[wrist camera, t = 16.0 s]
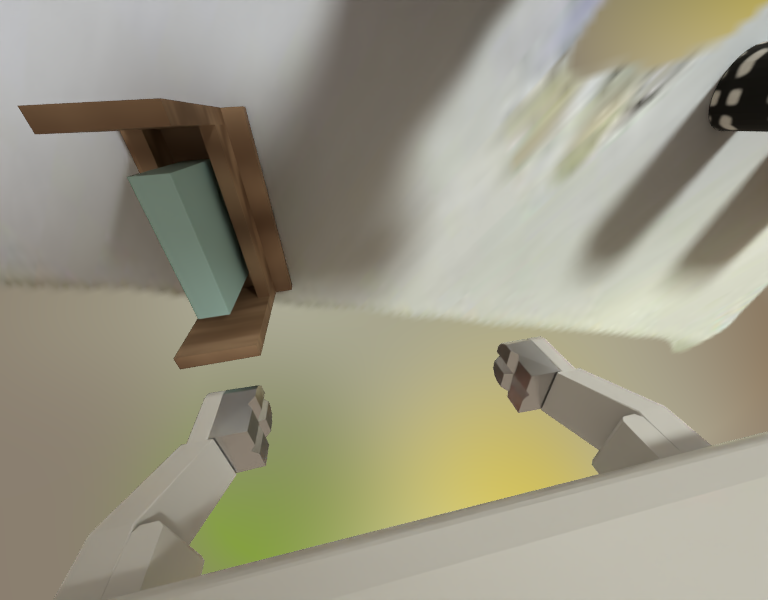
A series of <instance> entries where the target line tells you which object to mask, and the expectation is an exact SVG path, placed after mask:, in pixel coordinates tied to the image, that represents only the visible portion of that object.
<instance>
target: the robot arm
mask: <svg viewBox="0 0 768 600" xmlns="http://www.w3.org/2000/svg"><path fill="white" fill-rule="evenodd" d="M497 352H498V354H499V355H500V356H499V357H498V358H497V359H496V360H495V362H494V367H493V369H494V375H495V377H496V380H497V381H498V383H499V385H500V386H501V387H503V388H504V389H506V390H508V398H509V400H510V401H511V403H512V404H513V405H514V407H515V409H516V410H517V411H518V413H520V412H525V411H531V410H536V409H541V410H542V411H544V412H545V413H546V414H548V415H549V416H551V417H552V418H554V419H555V420H556V421H558V422H559V423H561V424H563V425H564V426H565V427H567V428H568V429H569V430H571V431H572V432H574V433H575V434H577V435H578V436H580V437H581V438H582V439H584V440H585V441H587V442H588V443H589V444H591V445H592V446H594V447H595V448H597V449H598V450H599V451H598V453H597V454H596V456H595V457H594V459H593V461H592V465H593V467H594V468H595V469H596V471H597V472H598V473H599V474H598V475H595V476H590V477H586V478H583V479H579V480H575V481H571V482H567V483H563V484H559V485H555V486H551V487H547V488H543V489H539V490H536V491H531V492H527V493H523V494H519V495H515V496H511V497H507V498H504V499H500V500H496V501H492V502H488V503H484V504H480V505H476V506H472V507H468V508H464V509H460V510H456V511H452V512H448V513H444V514H440V515H436V516H433V517H429V518H425V519H421V520H417V521H413V522H409V523H405V524H401V525H397V526H393V527H389V528H385V529H381V530H377V531H373V532H369V533H365V534H362V535H358V536H354V537H350V538H346V539H342V540H338V541H334V542H330V543H326V544H322V545H318V546H314V547H310V548H306V549H302V550H299V551H294V552H291V553H287V554H283V555H279V556H275V557H271V558H267V559H263V560H259V561H255V562H251V563H248V564H243V565H239V566H235V567H231V568H228V569H224V570H220V571H216V572H212V573H208V574H204V575H201V573H202V569H203V565H204V559H203V558H202V556H201V555H200V554H199V553H197V552H196V551H195V550H194V549H193V548H191V547H190V546H189V544H190V543H191V541H192V540H193V538H194V537H195V535H196V534H197V532H198V531H199V529H200V528H201V527H202V525H203V524H204V522H205V521H206V519H207V518H208V516H209V515H210V513H211V512H212V510H213V509H214V507H215V506H216V504H217V503H218V501H219V500H220V498H221V497H222V495H223V494H224V492H225V491H226V489H227V488H228V486H229V485H230V483H231V482H232V480H233V479H234V477H235V476H236V473H238V472H242V471H246V470H250V469H254V468H258V467H263V466H266V460H267V454H268V447H269V444H268V441H267V439H266V437H267V435H268V434H269V433H270V432H271V426H272V412H271V407H270V404H269V402H268V401H267V400H265V399H264V394H265V392H264V390H263V388H262V386H252V387H245V388H238V389H232V390H226V391H220V392H213V393H209V394H208V395H207V396H206V397H205V398H204V401H203V403H202V406H201V408H200V411H199V413H198V416H197V419H196V421H195V423H194V426H193V428H192V431H191V434H190V436H189V438H188V441H187V444H183V445H180V446H179V447H178V448H177V449H176V450H175V451H174V452H173V453H172V454H171V455H170V456H169V457H168V458H167V459H166V460H165V461H164V462H163V463H162V464H161V465H160V466H159V467H158V468H157V469H156V470H155V471H154V472H153V473H152V474H151V475H150V476H148V477H147V478H146V479H145V480H144V481H143V482H142V483H141V484H140V485H139V486H138V487H137V488H136V489H135V490H134V491H133V492H132V493H131V494H130V495H129V496H128V497H127V498H126V499H125V500H124V501H123V502H122V503H121V504H120V505H119V506H118V507H117V508H116V509H115V510H114V511H113V512H111V513H110V514H109V515H108V516H107V517H106V518H105V519H104V520H103V521H102V522H101V523H100V524H99V525H98V526H97V527H96V528H95V529H94V530H93V531H92V532H91V533H90V534H89V536H88V537H87V539H86V541H85V543H84V545H83V546H82V548H81V550H80V552H79V554H78V556H77V558H76V559H75V561H74V563H73V565H72V567H71V569H70V570H69V572H68V574H67V576H66V578H65V580H64V581H63V583H62V585H61V587H60V589H59V590H58V592H57V594H56V596H55V598H54V600H768V432H764V433H760V434H756V435H752V436H748V437H744V438H740V439H736V440H733V441H729V442H725V443H721V444H717V445H713V446H712V445H710V444H709V443H708V442H707V441H706V440H704V439H703V438H702V437H701V436H700V435H699V434H697V433H696V432H695V431H694V430H693V429H691V428H690V427H689V426H688V425H687V424H685V423H684V422H683V421H682V420H681V419H680V418H678V417H677V416H676V415H675V414H674V413H673V412H671V411H670V410H669V409H668V408H667V407H666V406H664V405H661V404H659V403H657V402H654V401H652V400H650V399H648V398H645V397H643V396H641V395H639V394H637V393H634V392H632V391H630V390H628V389H625V388H623V387H621V386H619V385H616V384H614V383H612V382H610V381H607V380H605V379H603V378H601V377H599V376H596V375H594V374H592V373H589V372H587V371H585V370H583V369H580V368H578V369H575V368H574V367H573V366H572V365H571V364H570V363H569V362H568V361H567V360H566V359H565V358H564V357H563V356H562V355H561V354H560V353H559V352H558V351H557V350H556V349H555V348H554V347H553V346H552V345H551V344H550V343H549V342H548V341H547V340H546V339H545V338H543V337H534V338H529V339H523V340H517V341H512V342H507V343H501V344H500V345H499V346H498V350H497Z"/></svg>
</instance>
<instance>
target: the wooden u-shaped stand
mask: <svg viewBox="0 0 768 600" xmlns="http://www.w3.org/2000/svg"><path fill="white" fill-rule="evenodd" d="M18 107H19V109H20V111H21V112H22V114H23V115H24V117H25V119H26V120H27V122H28V124H29V125H30V127H31V128H32V130H33V132H34V133H35V134H54V133H78V132H102V131H120V133H121V135H122V137H123V139H124V141H125V143H126V145H127V147H128V149H129V151H130V153H131V156H132V158H133V160H134V162H135V164H136V166H137V168H138V170H139V172H140V173H143V172H146V171H150V170H153V169H157V168H160V167H164V166H167V165H171V164H174V163H178V162H181V161H189V160H201V159H210V161H211V164H212V167H213V169H214V172H215V175H216V178H217V181H218V184H219V187H220V190H221V193H222V195H223V198H224V201H225V204H226V207H227V210H228V213H229V216H230V219H231V221H232V224H233V227H234V230H235V233H236V236H237V239H238V242H239V245H240V247H241V250H242V253H243V256H244V259H245V262H246V265H247V268H248V271H249V273H248V276H247V278H246V280H245V282H244V284H243V287H242V289H241V291H240V293H239V296H238V298H237V300H236V302H235V304H234V307H233V309H232V311H231V313H230V314H229V315H223V316H216V317H209V318H203V319H197V321H196V322H195V324H194V326H193V327H192V329H191V331H190V332H189V334H188V336H187V338H186V339H185V341H184V342H183V344H182V346H181V347H180V349H179V351H178V352H177V354H176V356H175V357H174V360H175V362H176V364H177V365H178V367H179V368H180V369H184V368H190V367H196V366H202V365H208V364H214V363H219V362H225V361H231V360H237V359H243V358H249V357H254V356H259V355H261V352H262V348H263V343H264V339H265V335H266V331H267V327H268V323H269V318H270V314H271V310H272V306H273V302H274V298H275V294H276V292H279V291H286V290H292V283H291V279H290V276H289V272H288V268H287V264H286V260H285V257H284V253H283V249H282V245H281V241H280V238H279V234H278V230H277V226H276V222H275V219H274V215H273V211H272V207H271V203H270V200H269V196H268V192H267V188H266V184H265V181H264V177H263V173H262V169H261V165H260V162H259V158H258V154H257V150H256V146H255V143H254V139H253V135H252V131H251V127H250V124H249V120H248V116H247V112H246V108H245V107H243V106H242V107H225V108H219V107H212V106H206V105H199V104H193V103H186V102H180V101H174V100H167V99H161V98H160V99H140V100H121V101H101V102H82V103H62V104H43V105H23V106H18Z"/></svg>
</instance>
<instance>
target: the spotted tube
mask: <svg viewBox="0 0 768 600" xmlns="http://www.w3.org/2000/svg"><path fill="white" fill-rule="evenodd" d="M709 120H710V123H711V125H712V126H713V127H714V128H715V129H717V130H721V131H765V132H768V41H767V42H762V43H760V44H757V45H755V46H753V47H752V48H750V49H749V50H747V51H746V52H745V53H744V54H742V55H741V56H740V57H739V58H738V59H737V60H736V61H735V62H734V63H733V64H732V66H731V67H730V68H729V69H728V71H727V72H726V73H725V75H724V76H723V78H722V79H721V81H720V83H719V84H718V86H717V88H716V90H715V93H714V95H713V98H712V101H711V104H710V110H709Z"/></svg>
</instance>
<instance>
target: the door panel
mask: <svg viewBox="0 0 768 600" xmlns="http://www.w3.org/2000/svg"><path fill="white" fill-rule="evenodd" d="M127 178H128V180H129V182H130V184H131V186H132V188H133V190H134V192H135V194H136V196H137V198H138V200H139V202H140V204H141V206H142V208H143V210H144V212H145V214H146V216H147V218H148V220H149V222H150V224H151V226H152V228H153V230H154V232H155V234H156V236H157V238H158V240H159V242H160V244H161V246H162V248H163V250H164V252H165V254H166V256H167V258H168V260H169V262H170V264H171V266H172V268H173V270H174V272H175V274H176V276H177V278H178V280H179V282H180V284H181V286H182V288H183V290H184V292H185V294H186V296H187V298H188V300H189V302H190V304H191V306H192V308H193V310H194V312H195V314H196V316H197V318H198V319H203V318H209V317H216V316H223V315H229V314H230V313H231V311H232V309H233V307H234V304H235V302H236V300H237V298H238V296H239V293H240V291H241V289H242V287H243V284H244V282H245V280H246V278H247V276H248V273H249V271H248V268H247V265H246V262H245V259H244V256H243V253H242V250H241V247H240V245H239V242H238V239H237V236H236V233H235V230H234V227H233V224H232V221H231V219H230V216H229V213H228V210H227V207H226V204H225V201H224V198H223V195H222V193H221V190H220V187H219V184H218V181H217V178H216V175H215V172H214V169H213V167H212V164H211V161H210V159H201V160H189V161H181V162H178V163H174V164H171V165H167V166H164V167H160V168H157V169H153V170H150V171H146V172H143V173H139V174H136V175H132V176H129V177H127Z"/></svg>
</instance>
